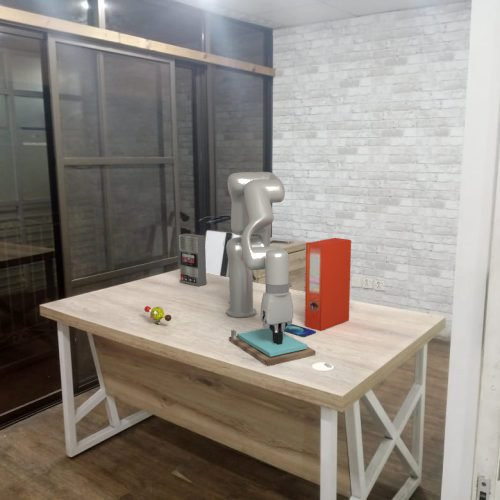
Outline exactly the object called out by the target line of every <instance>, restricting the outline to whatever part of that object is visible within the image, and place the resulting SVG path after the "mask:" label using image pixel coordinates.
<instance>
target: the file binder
mask: <svg viewBox="0 0 500 500" xmlns="http://www.w3.org/2000/svg"><path fill="white" fill-rule="evenodd" d="M351 255H352V240H351V239H346V238H339V237H331V238H326V239H322V240H317V241H312V242H311V241H310V242H307V243H305V286H304V288H305V291H304V293H305V294H304V296H305V298H304V299H305V301H304V302H305V303H304V326H305V328H307V329H311V330H314V331H319V332H323V331H325V330H328V329H330V328H333V327H335V326H338V325H341V324H344V323H346V322H348V321H350V295H351V293H350V292H351V289H350V288H351V264H352V263H351V262H352V261H351V258H352V256H351Z"/></svg>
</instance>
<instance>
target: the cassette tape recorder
mask: <svg viewBox="0 0 500 500" xmlns="http://www.w3.org/2000/svg"><path fill="white" fill-rule="evenodd" d="M178 244H179V245H178V247H179V273H180V274H179V276H180V279H179V283H181V284H187V285H191V286H196V287H201V286H204V285H205V286H206V285H207V284H208V282H207V266H206V265H207V264H206V262H207V260H206V257H207V256H206V254H207V253H206V235H204V234H202V235H201V234H195V233H181V234H178Z"/></svg>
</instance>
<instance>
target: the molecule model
mask: <svg viewBox="0 0 500 500" xmlns="http://www.w3.org/2000/svg"><path fill="white" fill-rule="evenodd" d="M144 312H145V313H149V314H150V316H149V317H150V318H151V319H152V320H154V321H155V322H154V324H155V325H157V326H158V325H161V320H162V319H163V318H164V320H165V321H166V322H170V321H171V320H172V315H170V314H166V315H165V310H164V309H163V308H162V307H160V306H154V307H150V306H148V305H147V306H145V307H144Z"/></svg>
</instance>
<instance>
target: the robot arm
mask: <svg viewBox="0 0 500 500" xmlns="http://www.w3.org/2000/svg"><path fill="white" fill-rule="evenodd" d="M227 190H228V193H229V196H230V201H231V208H230V209H231V212H230V228H231V232H232V233H233V234H234V235H236V236H237V237H236V236H235V237H232V238H230V239H229V240H227V243H226V254H227V255H226V256H227V262H228V276H229V277H228V279H229V280H228V281H229V283H228V284H229V287H228V288H229V300H228V304H229V308H227V309H226V310H225V312H226V316H229V317H233V318H249V317H253V316H255V315H257V312H258V310H257V308H255V307H254V288H253V286H254V284H253V283H254V281H253V280H254V279H253V278H254V275H253V273H254V272H253V271H261V270H264V271H265V276H264V277H265V278H264V281H265V292H263V293H262V297H261V305H260V321H261V322H262V328H267V329H270V330H271V331H273V342H274V343H275V344H277V345H279V344H282V340H283V333H285V332H284V330H285V328H286V326H287V325H289V324H293V319H294V305H293V304H294V303H293V298H292V297H293V296H292V293H291V291H290V288H292V287H293V284H292V283H291V282H290V280H289V278H290V273H289V271H290V270H289V267H290V266H289V263H290V261H289V260H290V259H289V252H288V251H286V250H285V249H284V248H283V247H281V246H280V245H279V246H277V245H273V246H272V245H271V236H272V235H271V234H272V233H271V232H272V223H273V222H274V220H275V216H274V213H273V208H272V204H274V203H278V204H279V203H281V202H282V201H284V199H285V196H286V195H285V194H286V191H285V186H284V183H283V182H282V180H281V179H280V177H278V176H277V175H275V173H273V172H269V171H257V172H256V171H244V172H243V171H241V172H240V171H239V172H234V173H231V174H230V175H228V178H227ZM238 236H239V237H238Z"/></svg>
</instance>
